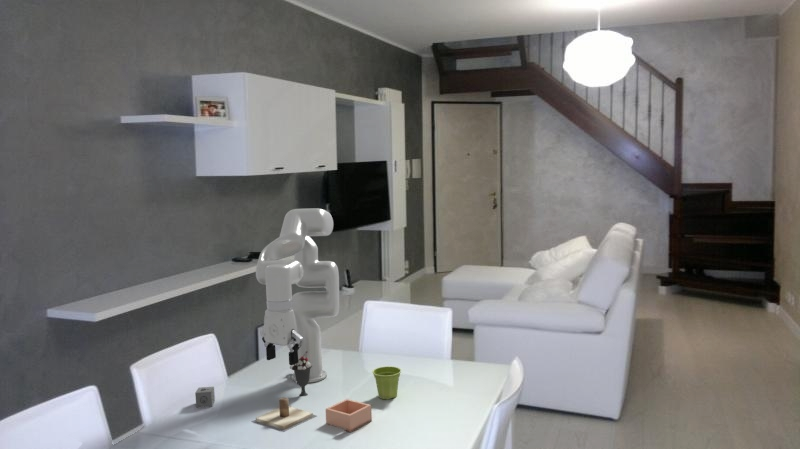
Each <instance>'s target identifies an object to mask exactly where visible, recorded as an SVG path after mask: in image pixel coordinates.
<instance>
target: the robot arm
mask: <svg viewBox="0 0 800 449" xmlns="http://www.w3.org/2000/svg"><path fill="white" fill-rule="evenodd" d="M333 230H334V219H333V217H332V215H331V213H330V212H329V211H327V210H326V209H322V208H319V207H317V208H294V209H291V210H289V211H287V213H286V214H285V215H284V218H283V222H282V226H281V230H280V233H279V237H276V239H274V240H273V241H271V242H269V243H268V244H267V245H266V246H264V248H263V249H262V250H261V252H260V253H259V256H258V260H257V262H256V269H255V278H256V280H257V282H258V283H259V284H261V285H265V294H266V303H265V304H266V309H265V311H264V317H263V329H261V330H260V331H259V332H260V336H261V340H262V342H263V343H264V347H265V353H266V355H265V356H266V360H267V361H270V360H273V359H276V358H277V357H276V355H277V354H276V345H277V346H282V347H283V346H287V348H288V350H289V352H288V364H289V369H290V370H292V367H293V366H294V364H295V365H296V364H297V363H298V359H300V358H301V357H304V359H305V358H306V357H307V358H308V362H309V363H310V365H311V366H312V367H311V369H310V377H309V383H316V382H317V383H318V382H320V381H323V380H325V379H326V378H327V376H328V373H327V371H326V370H324V369H323V356H322V355H323V354H322V332H321V331H322V330H321V327H320V325H319V324H318V323H317V321H316V320H315V319H325V318H326V319H328V318H335V317H337V316H338V315H339V312H340V311H339V310H340V273H339V267H338V265H337V264H336V263H335V262H334V261H331V260H319V247H318V246H317V244H316V242H315V241H314V239H312V237H327V236H330V235H331V234H332V233H333ZM292 255H294V259H284V258H287V257H290V256H292ZM292 285H296V286H297V287H299V288H309V289H310V288H311V289H312V288H313V289H314V288H324V289H325V290H322V291H320V290H319V291H317V290H314V291H313V290H312V291H311V290H310V291H309V290H308V291H300V292H296V293H294V294H293V291H292V290H293V286H292ZM306 352H307V354H306ZM293 371H294V370H293ZM291 379H292V381H294V382H296V383H297V381H296V376H295V371H294V372H293V374H291ZM309 383H308V384H309Z"/></svg>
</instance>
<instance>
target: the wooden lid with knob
mask: <svg viewBox="0 0 800 449" xmlns="http://www.w3.org/2000/svg"><path fill="white" fill-rule="evenodd" d="M289 400H290V399H289V398H288V397H281V398H279V399H278V403H279V404H278V405H279V407H278V408H276V409H273V410H271V411H269V412H266V413H265V414H262V415H259V416H256V418H255V420H256V421H258V422H261V423H264V424H267V425H270V426H273V427H277V428H280V429H283V430H285V429H287V428H289V427H291V426H293V425H295V424H297V423H300V422H302V421H304V420H306V419H308V418H310V417H312V416H313V415H314V414H313V412H311V411H310V412H309V411H307V410H302V409H300V408H296V407H294V406H293V407H292V406H290V402H289Z"/></svg>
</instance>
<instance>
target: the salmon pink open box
mask: <svg viewBox="0 0 800 449" xmlns="http://www.w3.org/2000/svg"><path fill="white" fill-rule="evenodd" d="M372 418H373V417H372V405H371V404H369V403H364V402H360V401H357V400H353V399H349V398H346V399H344V400H342V401H339V402H337V403H335V404H333V405H331V406H328V407H327V408H325V423H326V424H327V425H331V426H333V427H337V428H341V429H344V430H343V431H344V432H348V433H352V432H355V431H356V430H359V429H360V428H361V427H363V426H365V425H367V424H370V423H371V422H373V419H372Z"/></svg>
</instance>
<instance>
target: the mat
mask: <svg viewBox="0 0 800 449" xmlns="http://www.w3.org/2000/svg"><path fill="white" fill-rule="evenodd" d="M316 417H318V415H316V414H313V416H312V417H310V418H308V419H306V420H304V421H302V422H300V423H297V424H295V425H293V426H291V427H289V428H287V429H285V430H283V429H280V428H277V427H273V426H270V425H267V424H264V423H261V422H258V421H256V419H253V420H252V421H251V422H252V423H255V424H258V425H260V426H264V427H267V428H270V429H272V430H276V431H280V432H283V433H284V432H287V431H288V430H291V429H293V428H295V427H297V426H299V425H302V424H303V423H305V422H308V421H310V420H312V419H314V418H316Z"/></svg>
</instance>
